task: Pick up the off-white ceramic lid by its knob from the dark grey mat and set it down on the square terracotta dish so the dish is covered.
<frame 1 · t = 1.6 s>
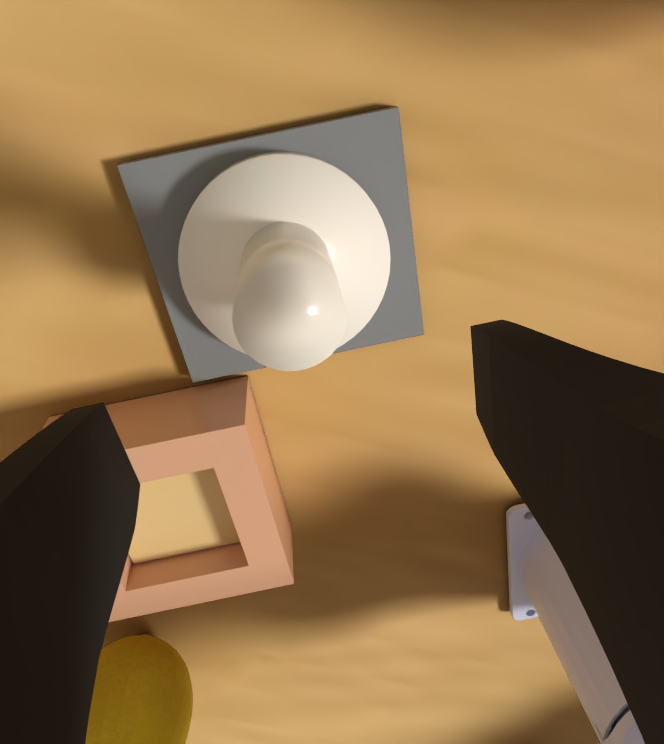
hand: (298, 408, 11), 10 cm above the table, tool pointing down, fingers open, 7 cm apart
lemon: (146, 633, 29), on the table
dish: (179, 474, 24), on the table
lid: (285, 258, 20), point 1 cm above the table, touching mat
mat: (285, 253, 20), on the table
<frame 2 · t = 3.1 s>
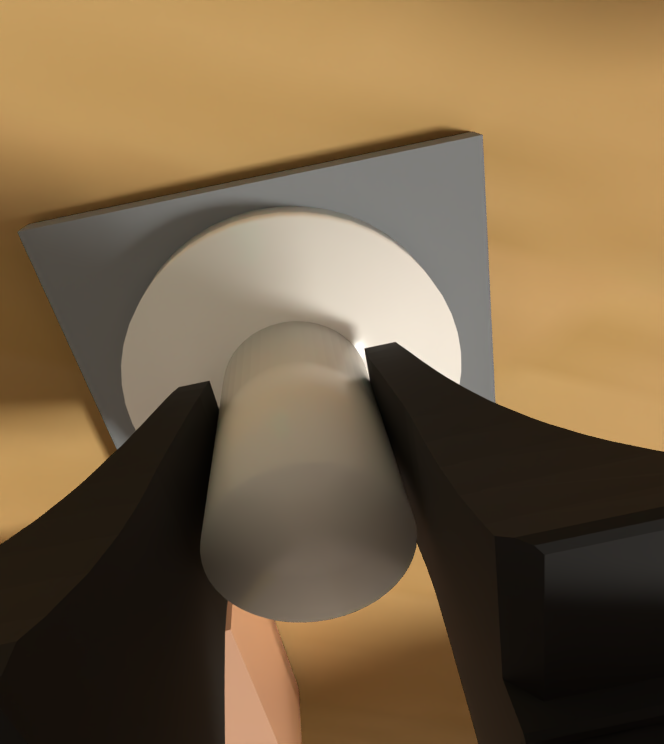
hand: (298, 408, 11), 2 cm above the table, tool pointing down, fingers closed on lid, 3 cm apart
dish: (143, 640, 17), on the table
lid: (294, 365, 13), point 1 cm above the table, touching gripper, mat
mat: (293, 353, 13), on the table
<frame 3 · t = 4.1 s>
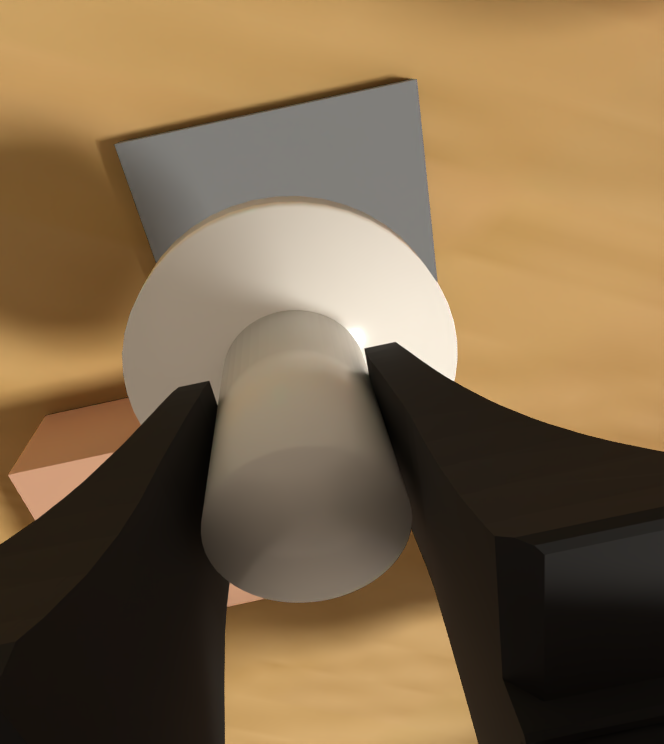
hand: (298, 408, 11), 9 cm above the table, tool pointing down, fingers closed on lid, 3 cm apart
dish: (183, 475, 23), on the table
lid: (293, 354, 13), point 7 cm above the table, touching gripper
mat: (294, 239, 19), on the table
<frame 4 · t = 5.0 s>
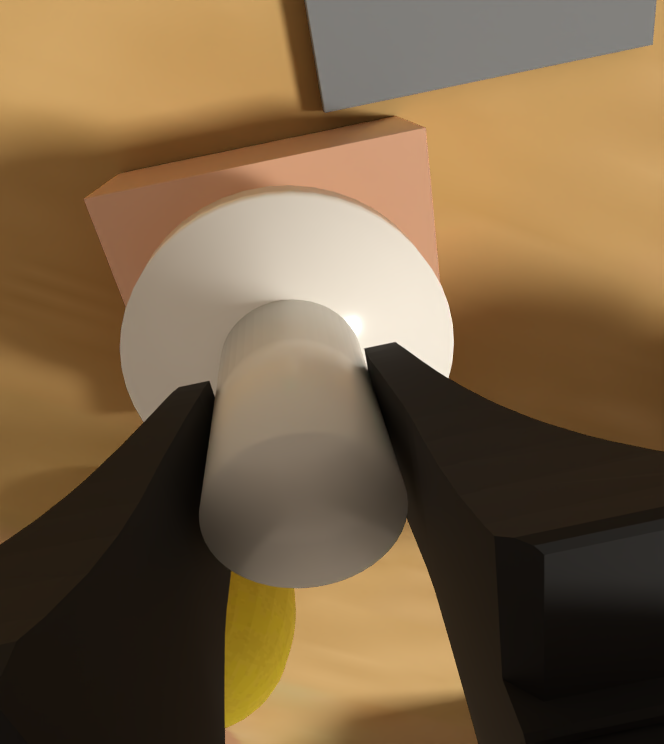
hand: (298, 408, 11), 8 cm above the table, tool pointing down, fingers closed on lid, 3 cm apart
lemon: (222, 521, 23), on the table
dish: (287, 277, 18), on the table
lid: (290, 343, 13), point 6 cm above the table, touching gripper
when the fingers open (6 cm above the table, at t = 5.5 s): lid stays where it is, resting on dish.
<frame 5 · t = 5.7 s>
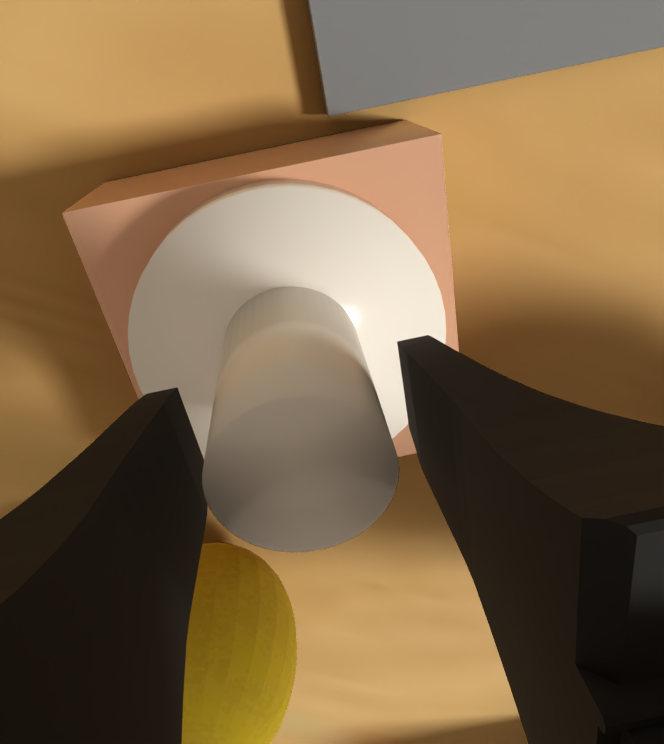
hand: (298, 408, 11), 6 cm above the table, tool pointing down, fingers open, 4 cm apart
lemon: (218, 548, 21), on the table
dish: (288, 293, 17), on the table
lid: (290, 332, 13), point 3 cm above the table, touching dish
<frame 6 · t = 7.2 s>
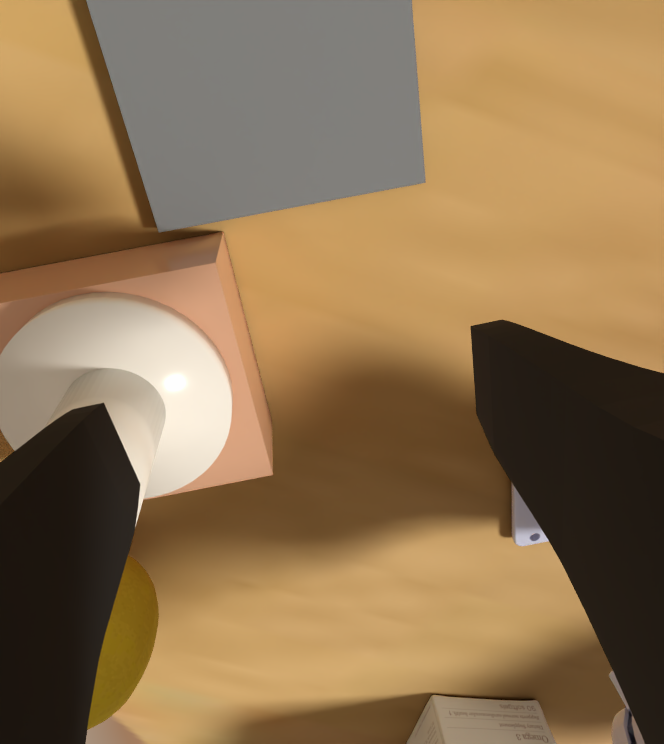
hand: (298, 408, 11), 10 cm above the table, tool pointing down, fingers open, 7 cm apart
lemon: (110, 551, 26), on the table
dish: (145, 354, 21), on the table
lid: (122, 394, 18), point 3 cm above the table, touching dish
supplement box: (463, 725, 36), on the table
mat: (266, 72, 17), on the table
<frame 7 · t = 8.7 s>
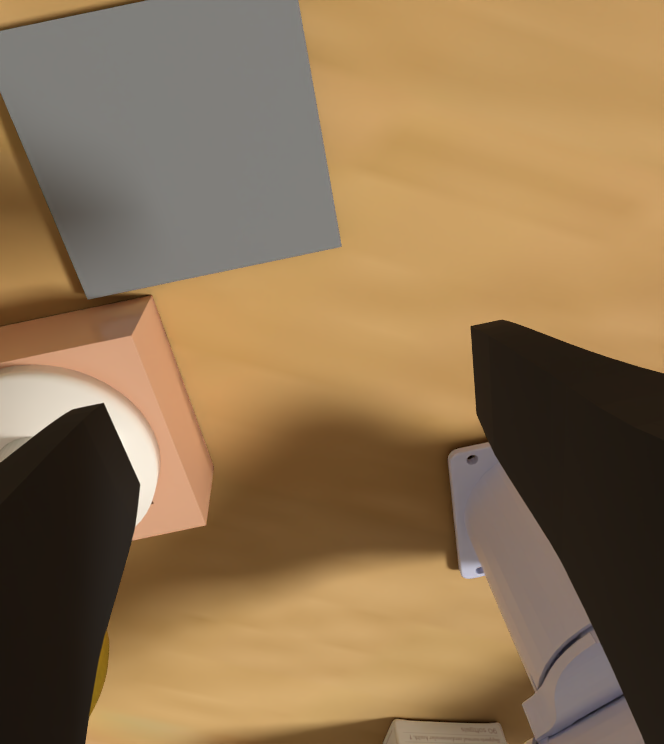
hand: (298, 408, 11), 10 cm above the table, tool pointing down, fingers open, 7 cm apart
lemon: (67, 590, 27), on the table
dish: (86, 409, 22), on the table
lid: (53, 456, 19), point 3 cm above the table, touching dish
mat: (181, 150, 18), on the table
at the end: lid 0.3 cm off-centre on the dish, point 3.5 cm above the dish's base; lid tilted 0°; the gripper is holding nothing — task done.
